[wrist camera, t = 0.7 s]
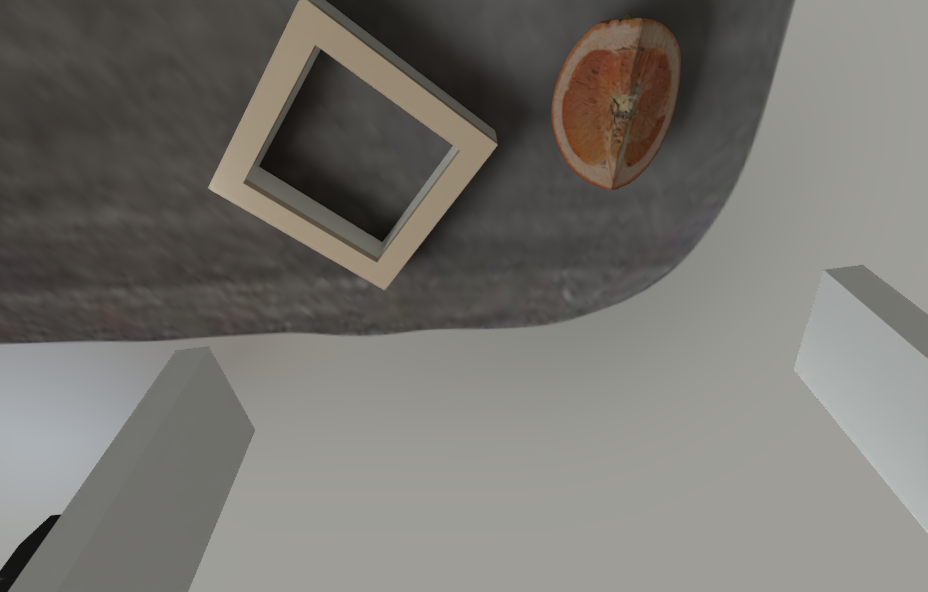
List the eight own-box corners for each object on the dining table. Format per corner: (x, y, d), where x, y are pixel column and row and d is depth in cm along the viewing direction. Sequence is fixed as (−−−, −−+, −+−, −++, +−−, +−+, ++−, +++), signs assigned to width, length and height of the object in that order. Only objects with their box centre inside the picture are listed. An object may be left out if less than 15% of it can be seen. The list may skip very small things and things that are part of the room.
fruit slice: (559, 6, 27) (577, 16, 23) (683, 10, 27) (724, 21, 23) (541, 160, 32) (553, 191, 27) (647, 163, 32) (675, 194, 28)
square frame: (226, 171, 32) (208, 188, 29) (315, -8, 26) (301, -5, 24) (389, 268, 36) (384, 290, 33) (494, 130, 30) (497, 144, 28)
